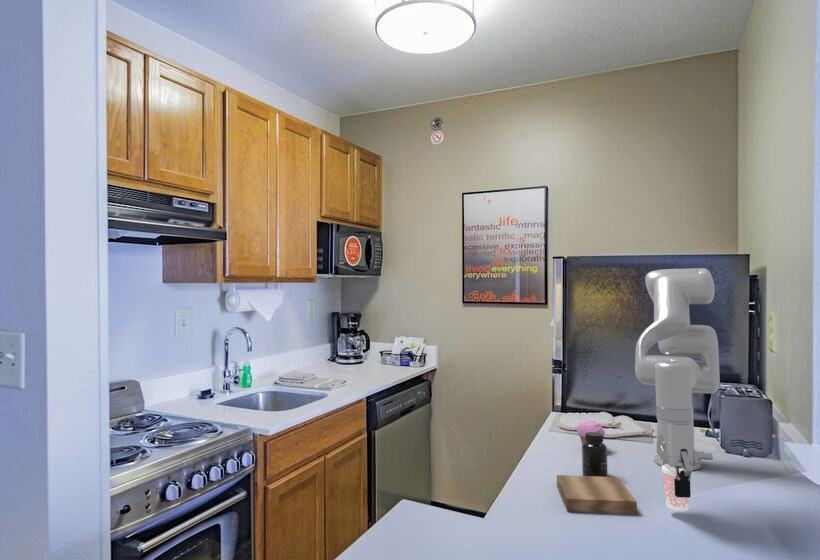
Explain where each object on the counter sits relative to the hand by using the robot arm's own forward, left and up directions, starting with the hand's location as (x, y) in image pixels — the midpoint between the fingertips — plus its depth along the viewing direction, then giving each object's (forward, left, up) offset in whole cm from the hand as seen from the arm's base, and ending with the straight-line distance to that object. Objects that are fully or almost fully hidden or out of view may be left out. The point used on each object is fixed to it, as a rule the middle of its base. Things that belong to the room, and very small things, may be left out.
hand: (676, 490), depth 116 cm
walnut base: (+17, -7, -6) cm, 20 cm away
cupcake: (+9, -48, -6) cm, 50 cm away
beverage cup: (0, 0, -4) cm, 4 cm away
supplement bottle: (+13, -24, -6) cm, 28 cm away
